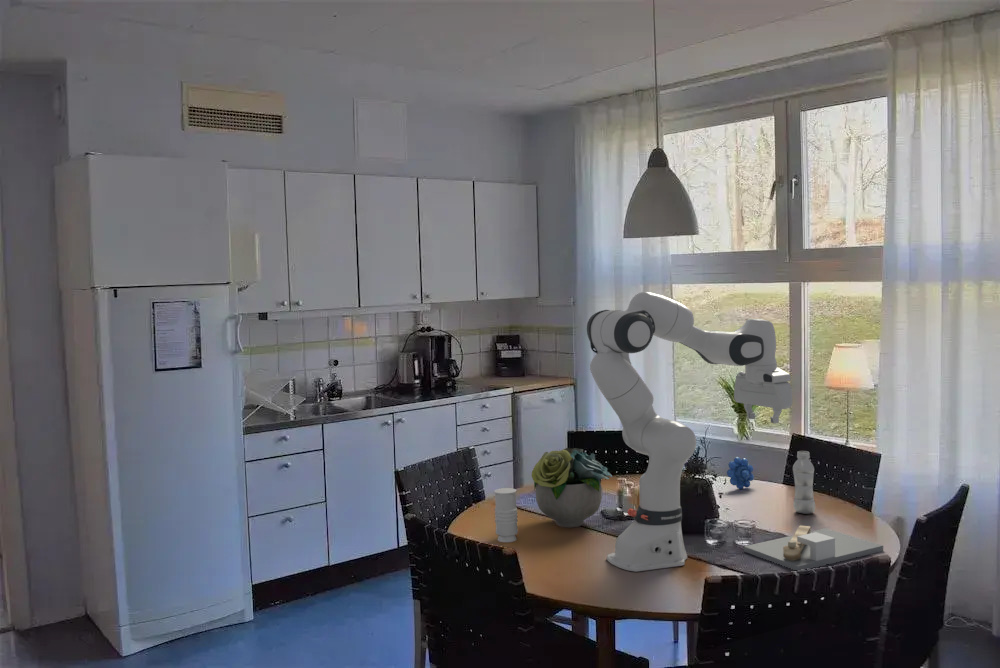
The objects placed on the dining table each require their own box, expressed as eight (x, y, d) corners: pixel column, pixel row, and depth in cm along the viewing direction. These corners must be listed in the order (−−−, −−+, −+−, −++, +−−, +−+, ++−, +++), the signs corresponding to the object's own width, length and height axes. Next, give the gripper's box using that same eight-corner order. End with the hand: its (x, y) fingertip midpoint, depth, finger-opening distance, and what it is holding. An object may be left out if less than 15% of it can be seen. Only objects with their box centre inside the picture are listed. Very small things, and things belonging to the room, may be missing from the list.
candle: (506, 534, 262) (505, 486, 262) (523, 538, 257) (521, 490, 257) (490, 539, 258) (489, 491, 257) (507, 544, 253) (505, 494, 252)
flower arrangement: (565, 509, 288) (563, 438, 287) (624, 522, 271) (622, 447, 269) (514, 526, 271) (511, 450, 270) (573, 541, 253) (571, 460, 252)
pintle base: (798, 572, 220) (797, 547, 220) (744, 551, 238) (743, 528, 238) (883, 550, 235) (883, 527, 234) (826, 533, 252) (825, 511, 252)
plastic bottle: (813, 516, 270) (812, 454, 269) (791, 514, 273) (790, 453, 272) (817, 511, 275) (816, 451, 274) (795, 509, 279) (794, 449, 278)
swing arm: (799, 560, 223) (799, 551, 223) (782, 558, 225) (781, 549, 225) (813, 534, 244) (813, 526, 244) (797, 533, 246) (797, 525, 246)
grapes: (735, 493, 302) (734, 460, 301) (723, 489, 308) (722, 457, 307) (761, 489, 306) (760, 456, 305) (749, 485, 312) (748, 453, 312)
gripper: (728, 372, 254) (729, 417, 255) (778, 377, 236) (780, 426, 237) (744, 370, 257) (745, 415, 258) (795, 375, 239) (797, 424, 240)
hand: (762, 420), depth 248 cm, fingers open, 8 cm apart
